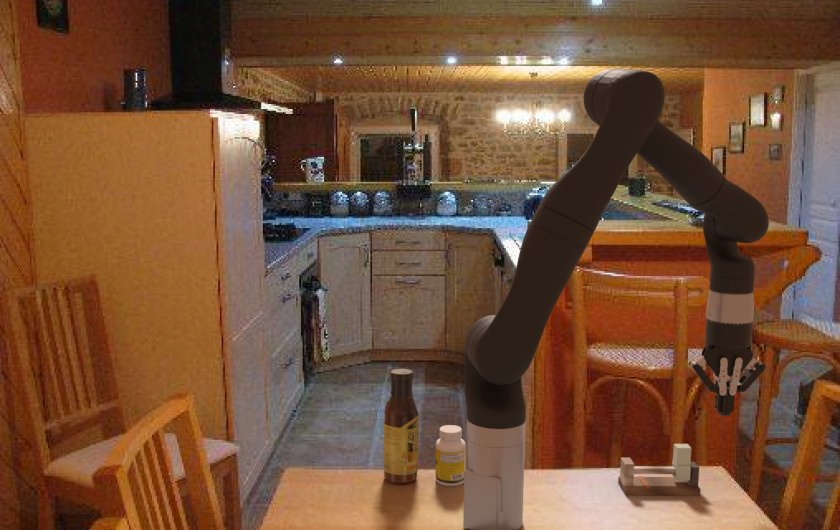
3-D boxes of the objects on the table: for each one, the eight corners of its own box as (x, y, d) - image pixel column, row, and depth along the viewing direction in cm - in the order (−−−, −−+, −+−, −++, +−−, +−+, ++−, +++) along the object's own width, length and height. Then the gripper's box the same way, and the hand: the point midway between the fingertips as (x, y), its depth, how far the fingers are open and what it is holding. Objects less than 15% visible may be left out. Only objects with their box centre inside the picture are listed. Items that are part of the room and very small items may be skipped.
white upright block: (685, 474, 145) (687, 443, 144) (689, 480, 143) (691, 448, 142) (671, 474, 145) (673, 443, 144) (676, 480, 143) (678, 448, 142)
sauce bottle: (414, 487, 144) (414, 378, 141) (379, 483, 145) (379, 375, 142) (421, 472, 150) (422, 367, 147) (388, 469, 152) (388, 365, 149)
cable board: (690, 483, 147) (692, 455, 146) (700, 495, 142) (701, 466, 141) (618, 482, 147) (619, 455, 146) (625, 494, 142) (626, 466, 141)
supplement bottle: (440, 473, 150) (441, 421, 149) (468, 477, 149) (469, 425, 147) (431, 484, 145) (431, 431, 144) (460, 489, 144) (461, 435, 142)
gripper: (698, 321, 136) (692, 422, 138) (777, 321, 136) (771, 421, 138) (683, 312, 143) (678, 407, 146) (759, 312, 143) (753, 407, 146)
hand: (723, 414), depth 142 cm, fingers closed
